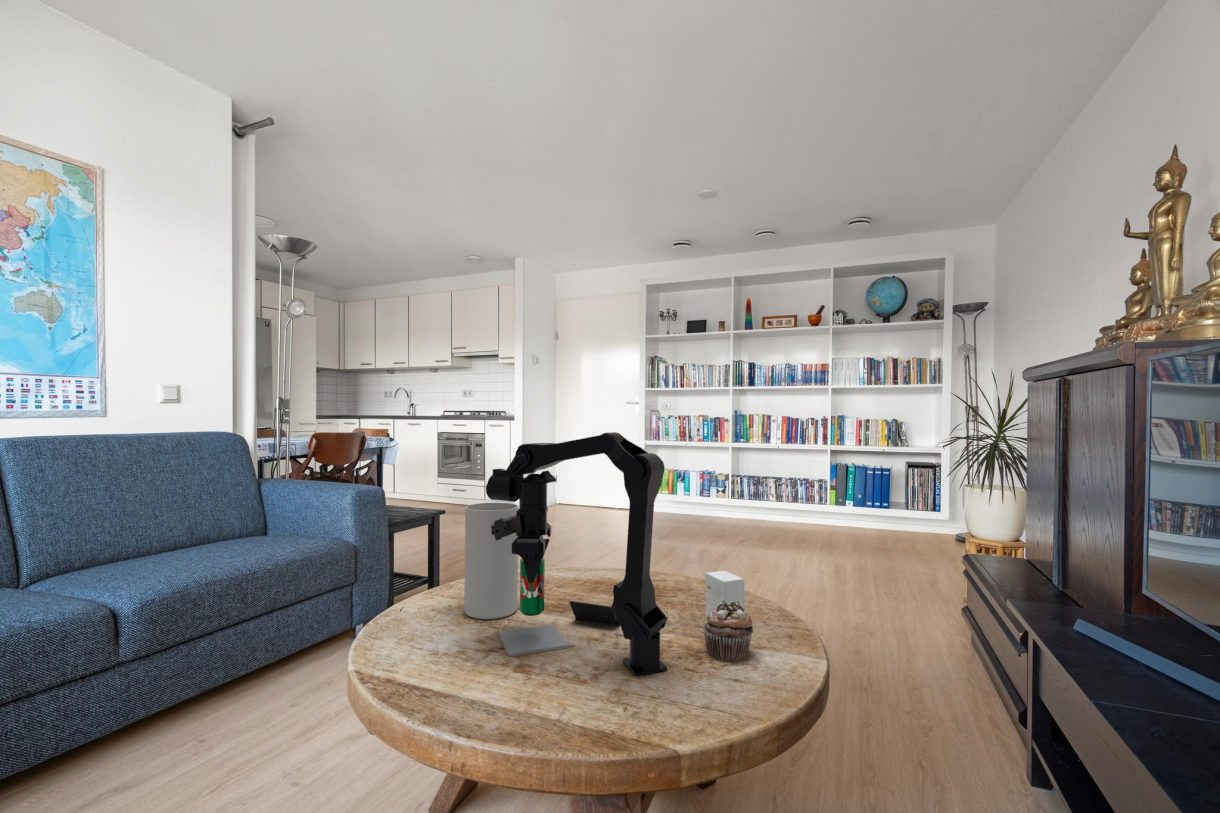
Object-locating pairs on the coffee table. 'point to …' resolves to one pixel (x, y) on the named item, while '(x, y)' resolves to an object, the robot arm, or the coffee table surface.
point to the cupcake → (728, 632)
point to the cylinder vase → (489, 563)
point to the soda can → (532, 591)
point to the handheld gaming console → (594, 613)
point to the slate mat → (531, 640)
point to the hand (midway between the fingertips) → (532, 578)
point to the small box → (723, 589)
